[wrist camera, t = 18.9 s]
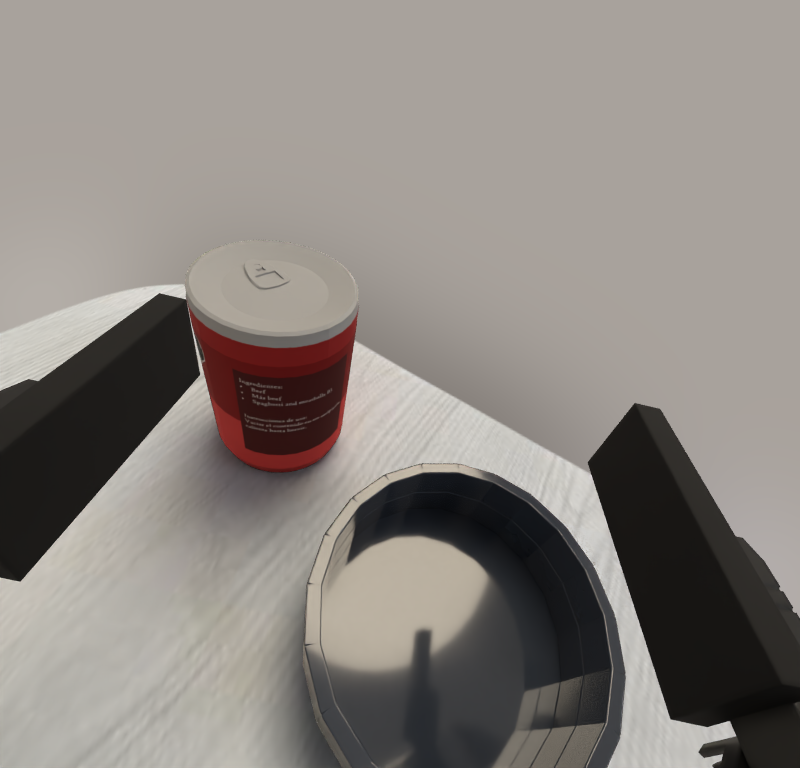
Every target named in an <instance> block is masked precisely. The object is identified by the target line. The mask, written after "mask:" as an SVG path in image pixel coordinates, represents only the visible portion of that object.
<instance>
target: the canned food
mask: <svg viewBox="0 0 800 768" xmlns="http://www.w3.org/2000/svg"><path fill="white" fill-rule="evenodd" d="M185 288H186V299H187V304H188V308H189V312H190V318H191V322H192V326H193V330H194V334H195V338H196V342H197V346H198V350H199V354H200V358H201V362H202V367H203V371H204V375H205V379H206V383H207V387H208V391H209V395H210V399H211V403H212V407H213V411H214V415H215V419H216V423H217V427H218V430H219V434H220V437H221V439H222V440H223V442H224V444H225V445H226V446H227V448H228V449H229V450H230V451H231V452H232V453H233V454H234V455H235V456H236V457H237V458H238V459H240V460H241V461H243V462H244V463H246V464H247V465H249V466H252V467H254V468H257V469H259V470H264V471H269V472H290V471H296V470H299V469H302V468H306V467H308V466H310V465H312V464H314V463H316V462H317V461H318V460H320V459H321V458H322V457H323V456H325V455H326V454H327V452H328V451H329V450H330V449H331V447H332V446H333V445H334V443H335V442H336V440H337V438H338V436H339V434H340V431H341V426H342V421H343V414H344V407H345V401H346V394H347V387H348V380H349V373H350V367H351V360H352V353H353V346H354V339H355V332H356V326H357V315H358V308H359V303H358V299H359V294H358V286H357V284H356V282H355V279H354V278H353V276H352V275H351V274H350V272H349V271H348V270H347V269H346V268H345V267H344V266H343V265H341V264H340V263H339V262H337V261H336V260H334V259H333V258H331V257H330V256H328V255H326V254H323V253H321V252H319V251H317V250H314V249H311V248H308V247H306V246H302V245H297V244H293V243H288V242H281V241H270V240H252V241H242V242H235V243H230V244H227V245H223V246H220V247H217V248H215V249H213V250H210V251H208V252H206V253H205V254H203V255H202V256H200V257H199V258H197V259H196V260H195V262H194V263H193V264H192V265H191V266H190V268H189V269H188V272H187V274H186V277H185Z"/></svg>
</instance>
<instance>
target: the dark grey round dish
mask: <svg viewBox="0 0 800 768" xmlns="http://www.w3.org/2000/svg"><path fill="white" fill-rule="evenodd" d="M303 669H304V673H305V677H306V682H307V686H308V690H309V695H310V700H311V703H312V707H313V712H314V716H315V720H316V722H317V725H318V727H319V729H320V730H321V732H322V734H323V736H324V737H325V739H326V741H327V743H328V745H329V747H330V748H331V750H332V751H333V753H334V755H335V756H336V758H337V760H338V762H339V763H340V765H341V767H342V768H607V767H608V764H609V762H610V760H611V758H612V755H613V753H614V751H615V748H616V746H617V744H618V742H619V739H620V735H621V725H622V713H623V702H624V690H625V679H626V676H625V668H624V662H623V656H622V651H621V645H620V639H619V634H618V628H617V623H616V618H615V615H614V612H613V610H612V608H611V605H610V603H609V601H608V598H607V596H606V594H605V591H604V589H603V586H602V584H601V582H600V579H599V577H598V575H597V572H596V570H595V568H594V567H593V564H592V563H591V562H590V560H589V559H588V557H587V556H586V554H585V553H584V552H583V550H582V549H581V547H580V546H579V545H578V543H577V542H576V540H575V539H574V538H573V536H572V535H571V533H570V532H569V530H568V529H567V528H566V527H565V526H564V524H563V523H562V522H560V521H559V520H558V519H557V518H556V517H555V516H554V515H553V514H552V513H551V512H550V511H549V510H547V509H546V508H545V507H544V506H543V505H542V504H541V503H540V502H539V501H538V500H537V499H535V498H534V497H533V496H531V494H529V493H527V492H526V491H524V490H522V489H521V488H519V487H517V486H515V485H514V484H512V483H510V482H508V481H507V480H505V479H503V478H501V477H500V476H498V475H495V474H493V473H490V472H486V471H482V470H479V469H475V468H472V467H468V466H465V465H461V464H418V465H414V466H411V467H408V468H405V469H401V470H398V471H395V472H391V473H388V474H385V475H383V476H382V477H380V478H379V479H378V480H376V481H375V482H373V483H372V484H370V485H369V486H368V487H366V488H365V489H363V490H362V491H360V492H359V493H358V494H356V495H355V496H353V497H352V498H351V499H350V500H349V502H348V503H347V504H346V506H345V507H344V508H343V510H342V511H341V512H340V514H339V515H338V516H337V518H336V519H335V520H334V522H333V523H332V524H331V526H330V527H329V528H328V530H327V531H326V532H325V535H324V536H323V539H322V542H321V545H320V548H319V551H318V553H317V556H316V559H315V562H314V565H313V568H312V571H311V573H310V576H309V579H308V582H307V589H306V606H305V625H304V645H303Z"/></svg>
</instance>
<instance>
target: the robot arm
mask: <svg viewBox="0 0 800 768" xmlns="http://www.w3.org/2000/svg"><path fill="white" fill-rule="evenodd" d="M199 375H200V371H199V366H198V360H197V355H196V349H195V344H194V339H193V333H192V328H191V322H190V317H189V311H188V306H187V300H186V299H182V298H177V297H173V296H169V295H164V294H160V293H159V294H158V295H156V296H155V297H154V298H152V299H151V300H150V301H148V302H147V303H145V304H144V305H143V306H141V307H140V308H139V309H137V310H136V311H134V312H133V313H132V314H130V315H129V316H128V317H126V318H125V319H123V320H122V321H121V322H119V323H118V324H117V325H115V326H114V327H112V328H111V329H110V330H108V331H107V332H106V333H104V334H103V335H101V336H100V337H99V338H97V339H96V340H95V341H93V342H92V343H90V344H89V345H88V346H86V347H85V348H84V349H82V350H81V351H79V352H78V353H77V354H75V355H74V356H73V357H71V358H70V359H68V360H67V361H66V362H64V363H63V364H62V365H60V366H59V367H57V368H56V369H55V370H53V371H52V372H51V373H49V374H48V375H46V376H45V377H44V378H42V379H41V380H40V381H34V380H30V379H28V380H25V381H23V382H21V383H18V384H16V385H13V386H11V387H8V388H6V389H4V390H1V391H0V577H1V578H6V579H10V580H15V581H21V580H22V579H23V578H24V577H25V576H26V575H27V573H28V572H29V571H30V570H31V569H32V568H33V566H34V565H35V564H36V563H37V562H38V561H39V560H40V558H41V557H42V556H43V555H44V554H45V553H46V552H47V550H48V549H49V548H50V547H51V546H52V545H53V543H54V542H55V541H56V540H57V539H58V538H59V537H60V535H61V534H62V533H63V532H64V531H65V530H66V529H67V527H68V526H69V525H70V524H71V523H72V522H73V520H74V519H75V518H76V517H77V516H78V515H79V514H80V512H81V511H82V510H83V509H84V508H85V507H86V505H87V504H88V503H89V502H90V501H91V500H92V499H93V497H94V496H95V495H96V494H97V493H98V492H99V491H100V489H101V488H102V487H103V486H104V485H105V484H106V482H107V481H108V480H109V479H110V478H111V477H112V476H113V474H114V473H115V472H116V471H117V470H118V469H119V468H120V466H121V465H122V464H123V463H124V462H125V461H126V459H127V458H128V457H129V456H130V455H131V454H132V453H133V451H134V450H135V449H136V448H137V447H138V446H139V445H140V443H141V442H142V441H143V440H144V439H145V438H146V436H147V435H148V434H149V433H150V432H151V431H152V430H153V428H154V427H155V426H156V425H157V424H158V423H159V422H160V420H161V419H162V418H163V417H164V416H165V415H166V413H167V412H168V411H169V410H170V409H171V408H172V407H173V405H174V404H175V403H176V402H177V401H178V400H179V399H180V397H181V396H182V395H183V394H184V393H185V392H186V390H187V389H188V388H189V387H190V386H191V385H192V384H193V382H194V381H195V380H196V379H197V378H198V377H199ZM588 465H589V468H590V471H591V475H592V478H593V481H594V484H595V487H596V490H597V493H598V496H599V499H600V502H601V505H602V509H603V512H604V515H605V518H606V521H607V524H608V527H609V530H610V533H611V536H612V539H613V543H614V546H615V549H616V552H617V555H618V558H619V561H620V564H621V567H622V570H623V573H624V577H625V580H626V583H627V586H628V589H629V592H630V595H631V598H632V601H633V604H634V607H635V611H636V614H637V617H638V620H639V623H640V626H641V629H642V632H643V635H644V638H645V641H646V645H647V648H648V651H649V654H650V657H651V660H652V663H653V666H654V669H655V672H656V676H657V679H658V682H659V685H660V688H661V691H662V694H663V697H664V700H665V703H666V706H667V710H668V713H669V716H670V719H672V720H676V721H681V722H686V723H691V724H695V725H700V726H705V727H709V726H713V725H716V724H720V723H723V722H727V721H730V722H731V724H732V727H733V729H734V732H735V734H736V736H737V737H732V738H728V739H724V740H720V741H715V742H711V743H707V744H703V746H702V747H701V749H700V750H699V753H700V754H701V755H702V756H703V757H704V758H706V757H711V756H715V755H720V754H723V757H722V761H720V762H717V763H715V764H713V767H714V768H800V618H799V616H798V615H797V613H794V612H793V611H792V608H793V607H792V605H791V604H790V602H789V600H788V598H787V597H786V595H785V594H784V592H783V591H780V590H779V587H780V586H779V584H778V582H777V581H776V579H775V578H774V576H773V574H772V573H771V571H770V569H769V568H768V566H767V565H766V563H765V562H764V560H763V559H762V558H761V557H760V556H759V555H758V554H757V553H756V552H755V551H754V550H753V548H751V546H750V545H749V544H748V543H747V542H746V541H745V540H744V539H743V538H740V537H736V536H735V535H734V533H733V531H732V530H731V528H730V526H729V524H728V523H727V521H726V519H725V518H724V516H723V514H722V513H721V511H720V509H719V508H718V506H717V504H716V503H715V501H714V499H713V497H712V496H711V494H710V493H709V491H708V489H707V487H706V486H705V484H704V482H703V481H702V479H701V477H700V476H699V474H698V472H697V470H696V469H695V467H694V465H693V464H692V462H691V461H690V459H689V457H688V455H687V453H686V452H685V450H684V448H683V447H682V445H681V443H680V442H679V440H678V438H677V437H676V435H675V433H674V431H673V430H672V428H671V426H670V425H669V423H668V421H667V420H666V418H665V416H664V415H663V413H662V411H661V410H660V409H658V408H653V407H649V406H645V405H641V404H636V403H635V404H634V405H633V406H632V407H631V409H630V410H629V411H628V412H627V414H626V415H625V416H624V417H623V419H622V420H621V421H620V422H619V424H618V425H617V426H616V428H615V429H614V430H613V431H612V432H611V434H610V435H609V436H608V438H607V439H606V440H605V441H604V443H603V444H602V445H601V446H600V448H599V449H598V450H597V451H596V453H595V454H594V455H593V456H592V458H591V459H590V460H589V461H588Z"/></svg>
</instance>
